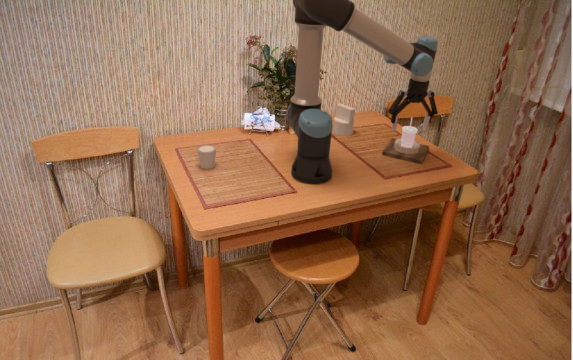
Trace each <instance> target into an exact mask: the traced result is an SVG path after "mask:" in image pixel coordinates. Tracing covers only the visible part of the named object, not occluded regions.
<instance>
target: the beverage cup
mask: <svg viewBox="0 0 573 360" xmlns="http://www.w3.org/2000/svg"><path fill="white" fill-rule="evenodd" d="M412 123H413V116H411V118H410V123H409V125H405V126H402V127H401V128H402V129H401V130H402V132H401V138H402V139H401V146H404V147H412V146H413V143H414V140H415V139H416V135H417V133H418V128H417V127H415V126H412Z"/></svg>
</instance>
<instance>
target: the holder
mask: <svg viewBox="0 0 573 360" xmlns="http://www.w3.org/2000/svg"><path fill="white" fill-rule="evenodd" d="M397 139H398V138H393V137H392V138H391V139H390V140H389V141H388V143H387V144H386V146H385V148H384V149H383V150H382V156H385V157H387V158H388V157H389V158H393V159H398V160H402V161H407V162H411V163H415V164H421V165H422V164H423V162H424V161H425V157H426V155H427V153H428V151H429V149H430V145H426V144H421V143H419V144H420V149H419V152H418V153H415V154H405V153H400V152H398V151H396V150H395V148H394V143H395V141H396V140H397Z"/></svg>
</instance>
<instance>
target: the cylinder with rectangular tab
mask: <svg viewBox="0 0 573 360" xmlns="http://www.w3.org/2000/svg"><path fill="white" fill-rule="evenodd" d="M355 113H356V108H354V107H352V106H349V105H346V104H343V103H337V104H336V105H335V115H334V118H333V128H332V133H333V134H335V135H337V136H343V137H347V136H348V137H349V136H352V135H353V133H354V126H355Z"/></svg>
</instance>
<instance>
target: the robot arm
mask: <svg viewBox="0 0 573 360" xmlns="http://www.w3.org/2000/svg"><path fill="white" fill-rule="evenodd" d="M292 3H293V4H292V5H293V7H294V9H295V10H294V23H295V25H296V26H297V28H298V33H297V48H296V51H297V53H296V67H295V69H296V70H295V82H294V83H295V85H294V87H295V88H294V94H293V95H292V96H291V97H290V99H289V100H290V101H289V102H290V103H289V106H288V108H287V110H286V119H287V122H288V125H289V126H290V128H291V129H292V131H293V132H294V133H295V135H296V136H297V150H296V151H297V152H296V156H295V158H294V161H293V163H292V165H291V169H290V174H291V176H292V178H293V179H294V180H297V181H298V182H301V183H304V184H308V185H320V184H324V183H327V182H329V181H330V180H331V179H332V177H333V167H332V162H331V159H330V151H331V150H330V149H331V142H332V133H333V125H334V123H333V117H332V115H331V114H330V113H328V112H327V111H326V110H324V111H323V110H322V103H323V100H322V98H320V95H319V89H320V88H319V87H320V79H321V78H320V76H321V64H322V53H323V41H324V29H326V27H328V28H331V29H333V30H335V31H336V32H342V31H343V32H344V33H346V34H348V35H349V36H351V37H353V38H354V39H356V40H357V41H359V42H361V43H362V44H364V45H366V46H368V47H369V48H371V49H373V50H374V51H376V52H378V53H379V54H380V55H382V56H383V59H384V62H385V63H386V64H391V65H395V64H396V65H399V66H400V67H401V68H403V69H405V70H407V71H409V72H410V76H409V77H410V78H409V79H408V86H407V90H406V91H403V90H402V89H400V90H399V91H398V94H397V97H396V98H395V100H394V101H393V102H392V104H391V105H390V107H389V108H388V110H387V113H389V115H391V118H390V123H391V128H390V129H391V131H392V132H394V133H396V130H397V127H398V126H397V125H398V121H399V116H398V115H399V114H400V113H401V112H402V111H403V110H404V109H405V108H406V107H407V106H408V105H410V104H411V103H412V104H416V103H417V104H420V103H421V105H422V107H423V108H424V110H425V111H426V113H425V114H424V120H423V125H422V127H421V128H422V131H424V132H427V131H428V128H429V125H430V124H431V122H432V118H433V117H434V116H436V115H438V113H439V112H438V108H437V104H436V100H435V92H434V91H432V90H429V87H430V81H429V80H431V77H432V72H433V67H434V63H435V60H436V54H437V52H438V51H437V50H438V45H439V44H438V43H439V41H438V39H437V38H436V37H431V36H428V35H426V36H418V37H417V40H416V42H408V41H406V40H405V39H403V38H402V37H401V36H399V35H397V34H396V33H394V31H391V30H390V29H388V28H387V27H385V26H383V25H382V24H380V23H379V22H377V21H376V20H374V19H373V18H371V17H370V16H368V15H366V14H365V13H363V12H362V11H360V10H359V9H357V8H356V4H355V3H354V2H352V1H351V0H292ZM428 90H429V91H428ZM426 97H428V100H429V104H430V106H429V104H428V103H427V101H426Z"/></svg>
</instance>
